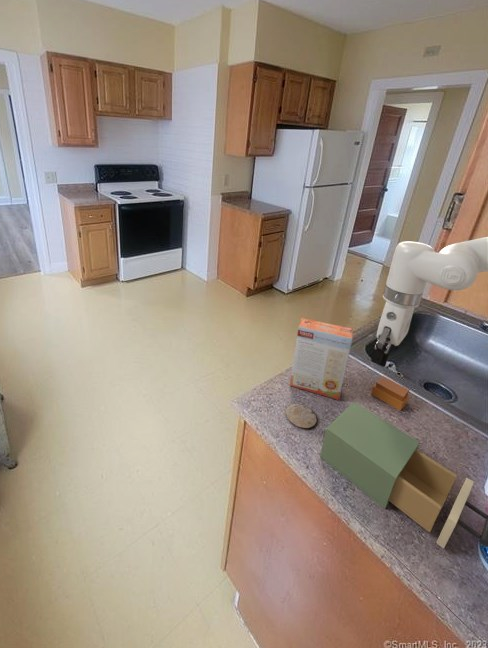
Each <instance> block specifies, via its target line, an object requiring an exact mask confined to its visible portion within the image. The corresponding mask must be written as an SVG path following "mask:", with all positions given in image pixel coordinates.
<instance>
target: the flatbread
mask: <svg viewBox="0 0 488 648" xmlns="http://www.w3.org/2000/svg"><path fill="white" fill-rule="evenodd" d="M285 416H286V417H287V419H288V421H290V422H291V423H292V424H293V425H295V426H297V427H299V428H302V429H310V428H312V427H314V426H315V425H316V424H317V415H316V414H315V412H314V411H313V410H312V409H311V408H309V407H307V406H305V405H303V404H300V403H290V404H289V405H288V406H287V408H286V410H285Z"/></svg>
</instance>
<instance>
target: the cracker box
mask: <svg viewBox="0 0 488 648" xmlns="http://www.w3.org/2000/svg"><path fill="white" fill-rule="evenodd" d="M353 335H354V334H353V328H351V327H347V326H342V325H337V324H332V323H327V322H323V321H318V320H314V319H309V318H305V317H301V318H300V322H299V325H298V329H297V336H296V341H295V348H294V355H293V360H292V368H291V375H290V380H289V386H290V387H292V388H296V389H299V390H302V391H306V392H310V393H313V394H316V395H320V396H323V397H326V398H329V399H333V400H337V401H339V400H340V397H341V394H342V390H343V389H342V388H343V384H344V379H345V375H346V370H347V367H348V362H349V357H350V352H351V349H352V348H351V347H352V344H353V340H354V339H353V338H354V337H353Z"/></svg>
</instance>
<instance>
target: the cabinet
mask: <svg viewBox="0 0 488 648" xmlns="http://www.w3.org/2000/svg"><path fill="white" fill-rule="evenodd" d="M420 444H421V441H419V440H417V439H415V438H414V437H412V436H411V435H410V434H407V433H406V432H404V431H402V430H401V429H399V428H398V427H397V426H395V425H393V424H391V423H390V422H388V421H386V420H385V419H383V418H382V417H380V416H378V415H377V414H375V413H374V412H372V411H370V410H369V409H367V408H365V407H363V405H361V404H359V403H357V402H355V401H353V402H352V403H351V404H350V405H348V406H347V408H346V409H345V410H344V411H343V412H341V413H340V414H339V415H338V416H337V417H336V418H335V419H334V420H333V421H332V422H331V423H330V424H329V425H328V426H327V427H326V429H325V432H324V438H323V441H322V446H321V450H320V454H319V458H320V459H322V460H323V461H324V462H326V463H327V464H328V466H330V467H332V469H334V470H335V471H337V472H338V473H339V474H340V475H341V476H343V477H344V478H345V479H346V480H347V481H349V482H350V483H352V485H353V486H355V487H357V489H359V490H360V491H361V492H362V493H364V494H365V495H366V496H368V497H369V498H370V499H371V500H373V501H374V502H375V503H376V504H378V505H379V506H380V507H381V508H383V509H384V510H386V509H387V507H388V505H389V504H390V503H391V502H390V501H389V499H390V496H391V493H392V490H393V488H394V485H395V482H396V479H397V478H398V476H399V475H400V473H401V472H402V470H403V469H404V467H405V466H406V464H407V463H408V461H409V460H410V458H411V457H412V455H413V454H414V452H415V450H416V449H417V450H419V447H420Z"/></svg>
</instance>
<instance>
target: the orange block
mask: <svg viewBox="0 0 488 648" xmlns="http://www.w3.org/2000/svg"><path fill="white" fill-rule="evenodd" d="M409 392H410V389H408V388H407V387H405V386H403V385H401V384H399V383H397V382H396V381H394V380H391V379H389V378H388V377H386V376H384V375H382V376H381V377H380V378H379V379H378V380H377V381H376V382H375V384H373V386H372V389H371V393H370V394H371V396H373V397H375V398H377V399H378V400H380V401H382V402H383V403H385V404H387V405H389V406H390V407H392V408H394V409H396V410H398V412H399V411H400V412H401V411H402V410H403V409H404V407H405V406H406V405H407V404H408V401H409V399H410V396H411V394H410V393H409Z"/></svg>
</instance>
